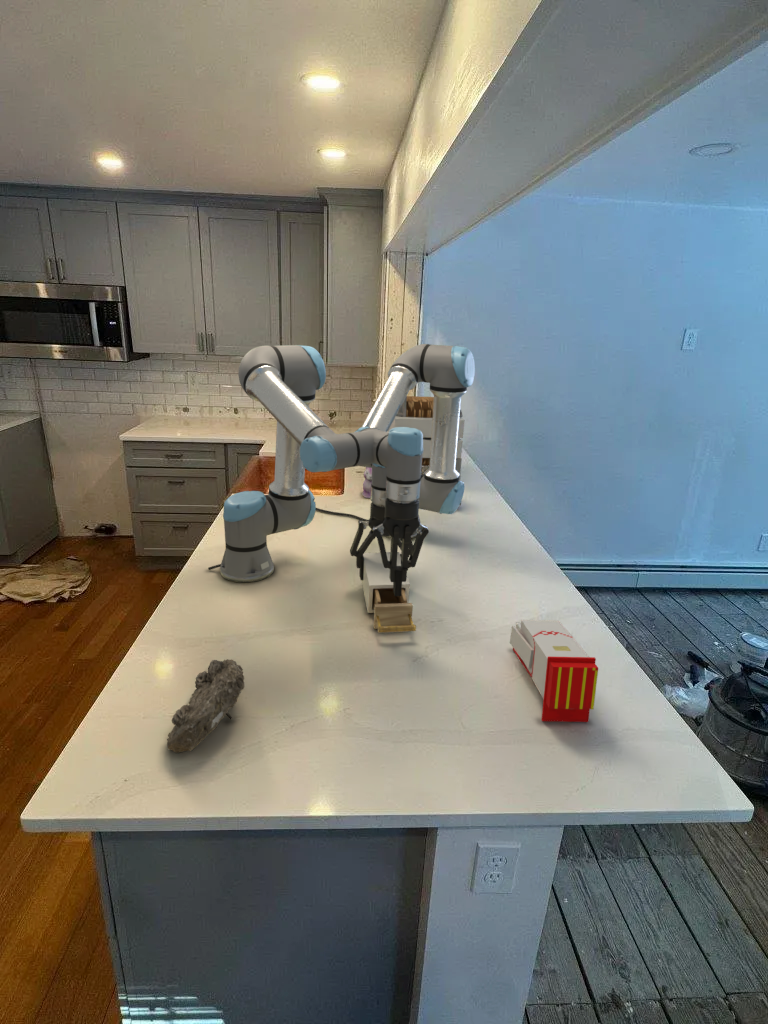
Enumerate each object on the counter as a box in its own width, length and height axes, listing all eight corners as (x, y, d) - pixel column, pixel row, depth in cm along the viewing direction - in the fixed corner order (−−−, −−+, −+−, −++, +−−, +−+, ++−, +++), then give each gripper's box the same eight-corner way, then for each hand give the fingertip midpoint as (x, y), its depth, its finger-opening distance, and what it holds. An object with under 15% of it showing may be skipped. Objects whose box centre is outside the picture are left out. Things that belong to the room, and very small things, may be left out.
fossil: (192, 660, 117) (244, 628, 112) (224, 691, 120) (276, 661, 115) (142, 746, 98) (202, 712, 93) (182, 779, 101) (242, 748, 96)
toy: (555, 605, 135) (607, 664, 106) (550, 657, 138) (599, 728, 109) (505, 604, 135) (543, 662, 106) (500, 656, 138) (537, 727, 108)
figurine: (366, 499, 233) (368, 464, 228) (356, 492, 241) (357, 458, 236) (387, 497, 237) (388, 462, 232) (376, 490, 246) (377, 456, 241)
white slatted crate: (382, 463, 289) (386, 382, 275) (445, 464, 293) (451, 384, 279) (390, 482, 257) (394, 392, 243) (460, 483, 261) (468, 394, 247)
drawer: (415, 642, 136) (417, 620, 133) (377, 643, 135) (378, 621, 132) (400, 592, 155) (402, 572, 152) (366, 593, 153) (368, 573, 151)
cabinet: (407, 611, 149) (409, 584, 145) (367, 613, 147) (369, 585, 144) (397, 577, 164) (399, 551, 160) (361, 578, 162) (362, 552, 158)
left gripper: (375, 504, 121) (371, 602, 129) (435, 503, 123) (427, 600, 131) (371, 493, 128) (367, 586, 136) (427, 493, 130) (420, 585, 138)
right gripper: (342, 507, 146) (341, 584, 153) (429, 506, 149) (424, 582, 157) (340, 498, 153) (339, 572, 160) (423, 497, 156) (418, 570, 164)
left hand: (397, 593), depth 133 cm, fingers closed
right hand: (381, 577), depth 158 cm, fingers closed on cabinet, 10 cm apart
